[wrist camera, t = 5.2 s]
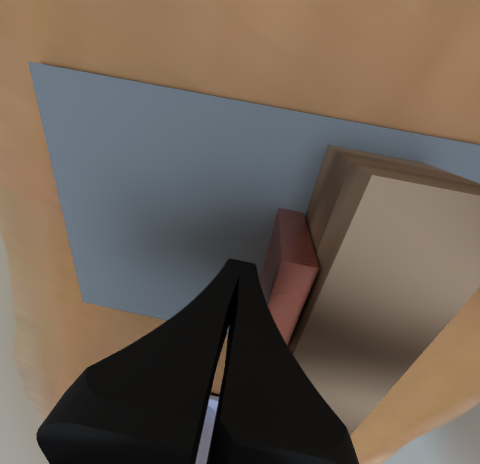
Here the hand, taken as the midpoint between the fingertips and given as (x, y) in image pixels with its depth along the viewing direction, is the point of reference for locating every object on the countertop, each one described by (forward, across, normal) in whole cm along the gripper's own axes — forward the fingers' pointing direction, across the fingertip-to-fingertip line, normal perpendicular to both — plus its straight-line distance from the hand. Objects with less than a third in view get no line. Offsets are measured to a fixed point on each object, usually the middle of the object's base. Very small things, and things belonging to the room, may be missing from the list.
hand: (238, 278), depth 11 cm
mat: (+3, 0, 0) cm, 3 cm away
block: (+2, -5, 0) cm, 5 cm away
